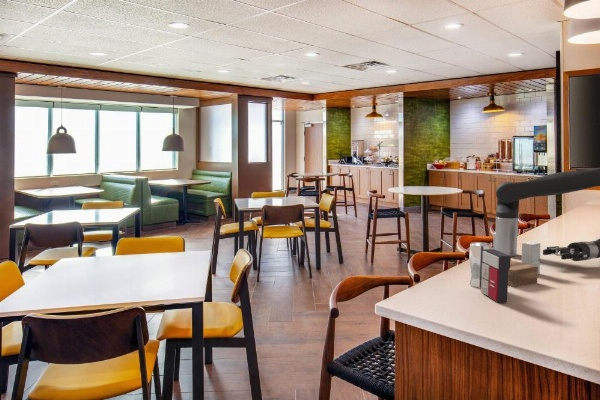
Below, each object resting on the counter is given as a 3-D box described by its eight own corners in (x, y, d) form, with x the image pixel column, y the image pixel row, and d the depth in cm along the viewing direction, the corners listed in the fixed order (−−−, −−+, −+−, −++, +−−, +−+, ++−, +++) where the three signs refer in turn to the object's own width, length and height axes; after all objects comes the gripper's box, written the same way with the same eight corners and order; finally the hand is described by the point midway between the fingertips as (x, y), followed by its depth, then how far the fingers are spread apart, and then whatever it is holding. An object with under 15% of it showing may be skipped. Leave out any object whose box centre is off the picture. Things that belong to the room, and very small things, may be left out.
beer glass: (488, 283, 165) (490, 242, 164) (490, 289, 159) (491, 246, 157) (468, 282, 168) (469, 241, 166) (468, 287, 161) (469, 245, 160)
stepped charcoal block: (479, 292, 155) (480, 249, 154) (491, 292, 156) (493, 248, 154) (496, 303, 144) (497, 256, 143) (509, 302, 145) (510, 255, 143)
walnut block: (486, 279, 172) (486, 263, 171) (509, 275, 177) (509, 259, 176) (513, 287, 161) (514, 270, 160) (537, 283, 166) (537, 266, 165)
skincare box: (531, 276, 175) (532, 244, 174) (520, 273, 179) (521, 242, 178) (540, 273, 178) (541, 242, 177) (529, 271, 182) (530, 241, 181)
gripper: (567, 238, 194) (538, 241, 188) (599, 245, 180) (569, 248, 175) (566, 256, 194) (537, 260, 189) (598, 263, 181) (568, 267, 176)
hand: (552, 254), depth 182 cm, fingers open, 8 cm apart
